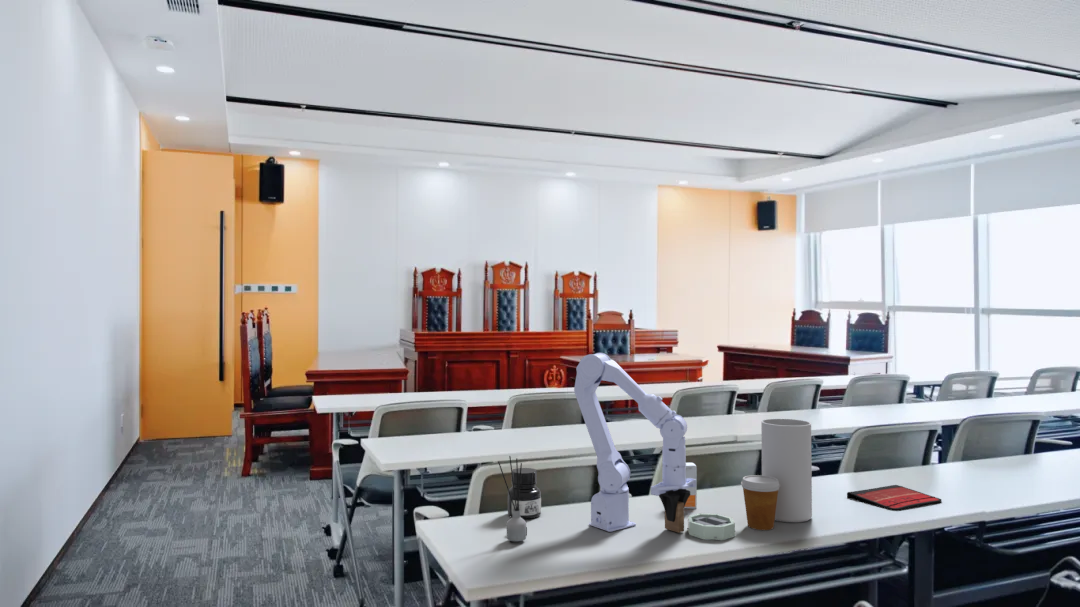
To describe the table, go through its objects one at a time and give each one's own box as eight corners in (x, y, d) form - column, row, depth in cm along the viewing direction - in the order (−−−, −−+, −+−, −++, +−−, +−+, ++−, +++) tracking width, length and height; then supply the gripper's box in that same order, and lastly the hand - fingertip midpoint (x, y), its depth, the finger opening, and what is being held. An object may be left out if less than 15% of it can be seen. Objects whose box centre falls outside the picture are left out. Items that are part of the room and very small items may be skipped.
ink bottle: (512, 521, 184) (512, 475, 184) (501, 513, 192) (501, 468, 192) (547, 517, 188) (547, 472, 188) (535, 509, 196) (534, 465, 196)
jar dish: (714, 543, 166) (714, 529, 166) (678, 531, 175) (678, 518, 175) (743, 534, 173) (743, 520, 173) (707, 523, 182) (707, 511, 182)
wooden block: (678, 532, 173) (678, 504, 173) (664, 528, 177) (664, 500, 177) (684, 531, 174) (683, 502, 174) (670, 526, 178) (670, 499, 178)
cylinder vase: (822, 519, 185) (821, 423, 185) (787, 526, 179) (786, 427, 180) (786, 507, 196) (785, 417, 196) (752, 513, 190) (751, 420, 191)
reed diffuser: (532, 545, 165) (532, 460, 165) (504, 549, 162) (504, 462, 163) (518, 533, 174) (518, 452, 175) (491, 536, 172) (491, 454, 172)
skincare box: (675, 509, 195) (675, 465, 195) (672, 504, 199) (671, 462, 200) (697, 508, 195) (697, 465, 195) (693, 504, 200) (693, 462, 200)
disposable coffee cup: (744, 531, 175) (743, 483, 175) (738, 520, 184) (738, 474, 185) (784, 533, 174) (783, 484, 174) (776, 521, 183) (776, 475, 183)
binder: (846, 491, 206) (895, 483, 216) (846, 499, 206) (895, 491, 216) (895, 507, 192) (945, 498, 201) (895, 515, 192) (945, 506, 201)
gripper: (666, 472, 168) (666, 529, 168) (705, 464, 177) (705, 518, 177) (644, 466, 174) (644, 522, 173) (683, 459, 183) (683, 512, 182)
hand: (674, 519), depth 176 cm, fingers closed on wooden block, 2 cm apart
